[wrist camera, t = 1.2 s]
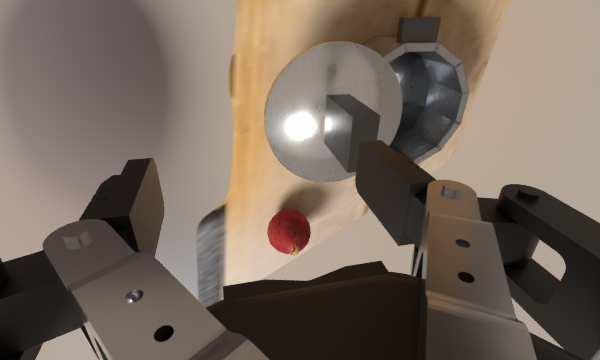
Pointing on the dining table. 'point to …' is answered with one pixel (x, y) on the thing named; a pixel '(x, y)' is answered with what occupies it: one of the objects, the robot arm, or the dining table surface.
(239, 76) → the dining table surface
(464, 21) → the dining table surface
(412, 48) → the pot
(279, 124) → the lid
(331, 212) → the dining table surface
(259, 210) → the dining table surface
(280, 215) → the onion
